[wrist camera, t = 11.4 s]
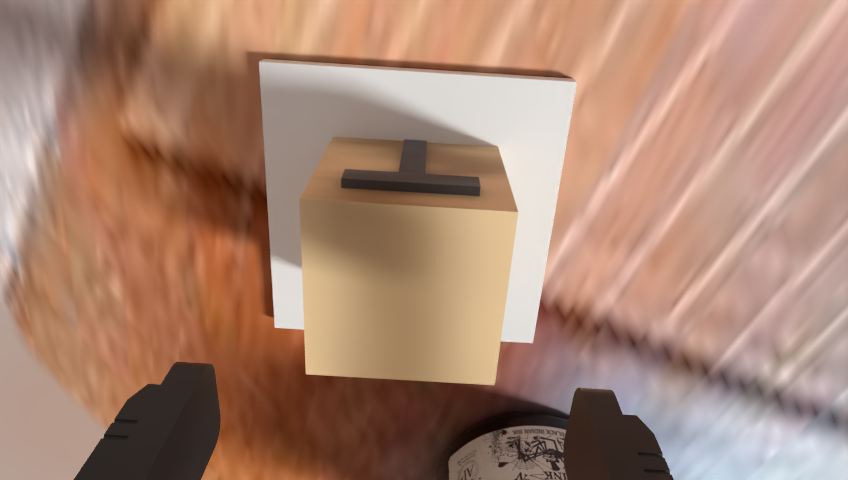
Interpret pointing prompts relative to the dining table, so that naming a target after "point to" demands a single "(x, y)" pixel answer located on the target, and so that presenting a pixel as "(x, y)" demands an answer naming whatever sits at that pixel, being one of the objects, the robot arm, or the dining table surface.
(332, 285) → the lettered block
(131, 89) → the dining table surface
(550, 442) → the ink bottle
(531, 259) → the white mat
